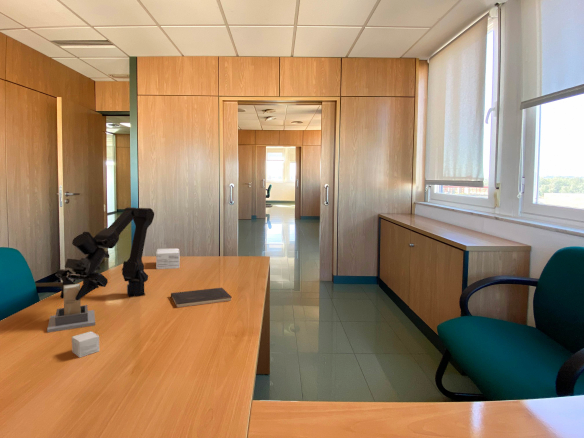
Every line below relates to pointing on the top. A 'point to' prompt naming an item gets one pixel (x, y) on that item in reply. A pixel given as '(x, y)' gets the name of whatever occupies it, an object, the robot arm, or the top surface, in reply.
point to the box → (71, 299)
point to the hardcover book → (200, 297)
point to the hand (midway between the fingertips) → (68, 298)
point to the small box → (85, 344)
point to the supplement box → (167, 258)
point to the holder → (71, 320)
